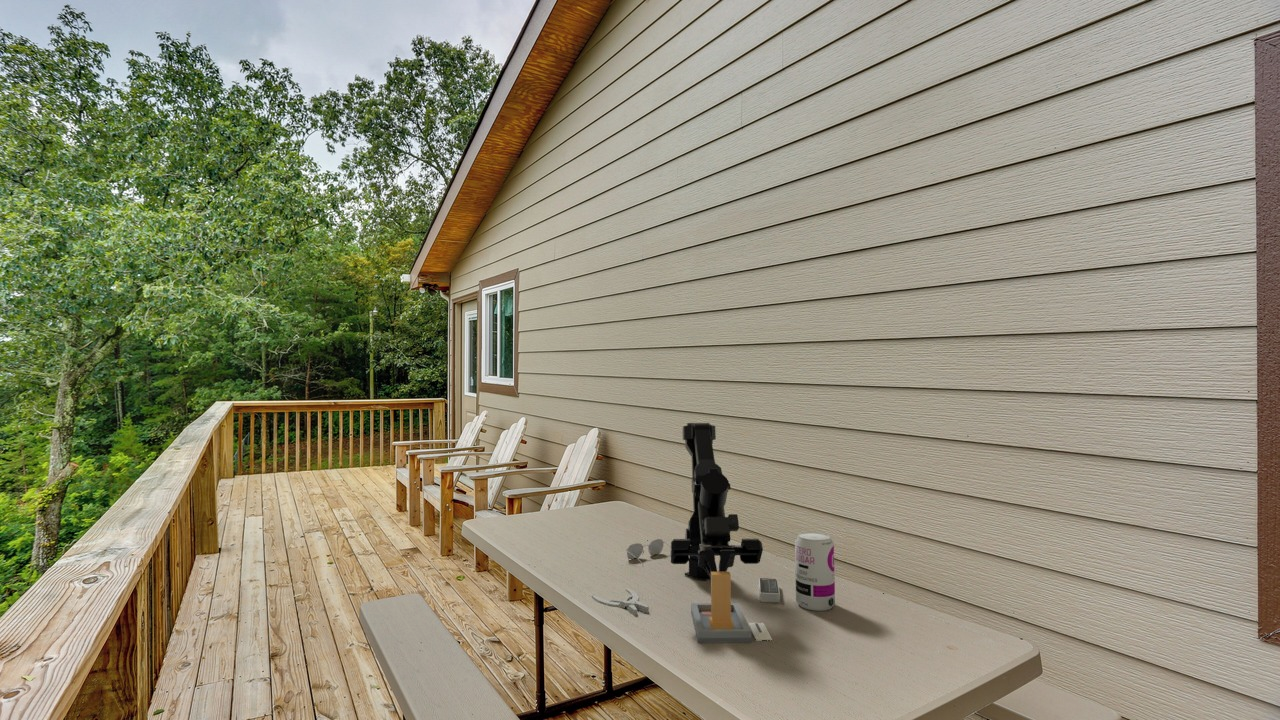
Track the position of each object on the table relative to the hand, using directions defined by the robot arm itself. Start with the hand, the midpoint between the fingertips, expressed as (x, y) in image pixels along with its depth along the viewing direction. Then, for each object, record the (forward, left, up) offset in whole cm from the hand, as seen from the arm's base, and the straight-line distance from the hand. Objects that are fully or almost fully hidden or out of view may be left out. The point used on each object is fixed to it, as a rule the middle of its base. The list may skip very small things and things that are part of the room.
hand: (719, 590), depth 121 cm
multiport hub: (-25, -5, -8) cm, 26 cm away
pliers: (+3, -24, -8) cm, 26 cm away
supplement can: (-25, +7, -8) cm, 27 cm away
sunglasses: (-26, -43, -8) cm, 51 cm away
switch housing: (-2, 0, -8) cm, 8 cm away
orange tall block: (+1, +1, -6) cm, 7 cm away
